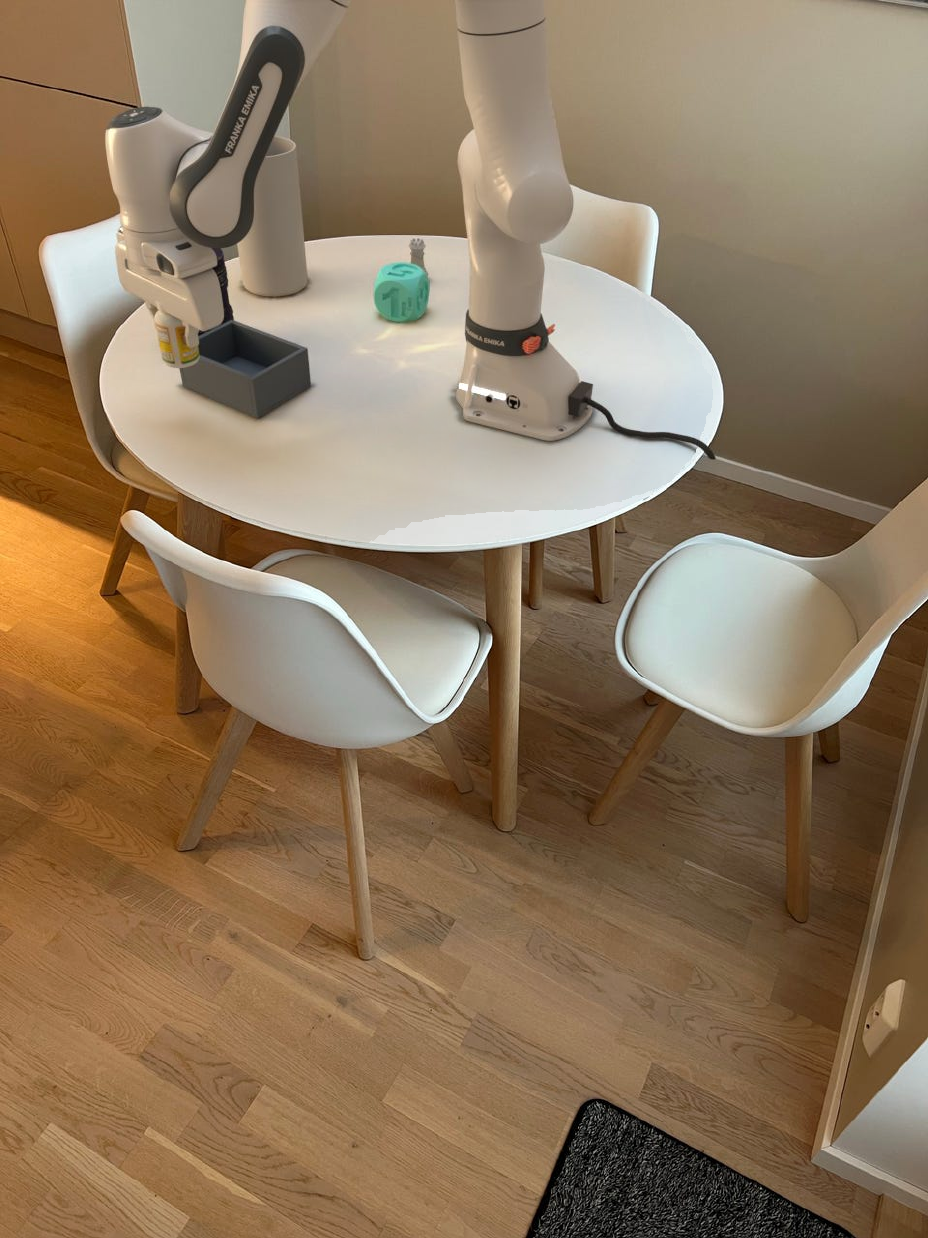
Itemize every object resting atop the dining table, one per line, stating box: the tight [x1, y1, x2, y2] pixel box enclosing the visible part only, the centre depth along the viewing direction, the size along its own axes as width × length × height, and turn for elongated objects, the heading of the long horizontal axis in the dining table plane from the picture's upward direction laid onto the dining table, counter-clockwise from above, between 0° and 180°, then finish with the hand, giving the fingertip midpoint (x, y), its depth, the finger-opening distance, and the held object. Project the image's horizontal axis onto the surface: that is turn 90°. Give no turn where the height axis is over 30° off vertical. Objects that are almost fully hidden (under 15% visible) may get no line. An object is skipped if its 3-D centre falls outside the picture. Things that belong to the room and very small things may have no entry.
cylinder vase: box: [236, 135, 309, 298], centre depth 172 cm, size 12×12×25 cm
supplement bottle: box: [153, 301, 200, 369], centre depth 134 cm, size 5×5×10 cm
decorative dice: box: [373, 261, 431, 323], centre depth 170 cm, size 8×8×8 cm
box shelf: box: [178, 319, 312, 419], centre depth 149 cm, size 17×13×7 cm
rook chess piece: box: [408, 237, 429, 277], centre depth 180 cm, size 4×4×8 cm
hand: (177, 337), depth 135 cm, fingers closed on supplement bottle, 5 cm apart
